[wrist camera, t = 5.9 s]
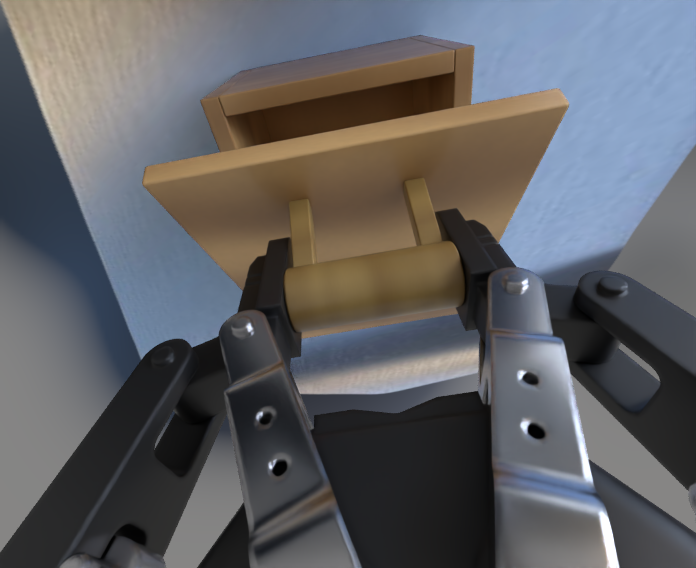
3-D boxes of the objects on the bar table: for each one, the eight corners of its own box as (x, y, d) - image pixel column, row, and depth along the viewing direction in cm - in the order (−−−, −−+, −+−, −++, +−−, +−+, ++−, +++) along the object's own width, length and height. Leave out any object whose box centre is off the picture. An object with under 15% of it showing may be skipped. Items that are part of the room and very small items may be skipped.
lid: (143, 165, 11) (112, 328, 8) (560, 85, 10) (658, 237, 8) (288, 330, 25) (292, 406, 23) (459, 303, 25) (482, 377, 22)
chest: (240, 71, 24) (199, 100, 16) (420, 34, 23) (475, 45, 15) (296, 255, 34) (289, 331, 26) (425, 232, 33) (459, 303, 25)
